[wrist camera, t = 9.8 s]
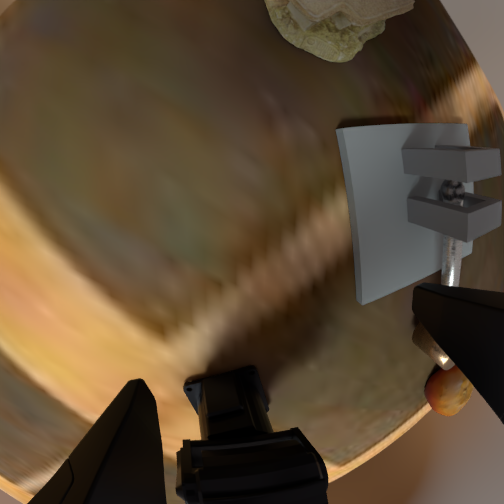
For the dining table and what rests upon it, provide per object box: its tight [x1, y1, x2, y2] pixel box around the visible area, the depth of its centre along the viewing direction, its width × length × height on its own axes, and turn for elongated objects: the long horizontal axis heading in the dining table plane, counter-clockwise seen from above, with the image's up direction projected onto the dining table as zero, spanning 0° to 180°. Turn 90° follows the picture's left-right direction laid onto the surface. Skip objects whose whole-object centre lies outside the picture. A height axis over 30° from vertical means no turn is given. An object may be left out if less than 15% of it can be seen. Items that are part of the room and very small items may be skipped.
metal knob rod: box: [412, 179, 465, 370], centre depth 20 cm, size 18×4×5 cm, turn 13°
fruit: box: [424, 365, 474, 416], centre depth 29 cm, size 8×8×8 cm
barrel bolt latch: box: [336, 123, 502, 305], centre depth 18 cm, size 14×16×8 cm
